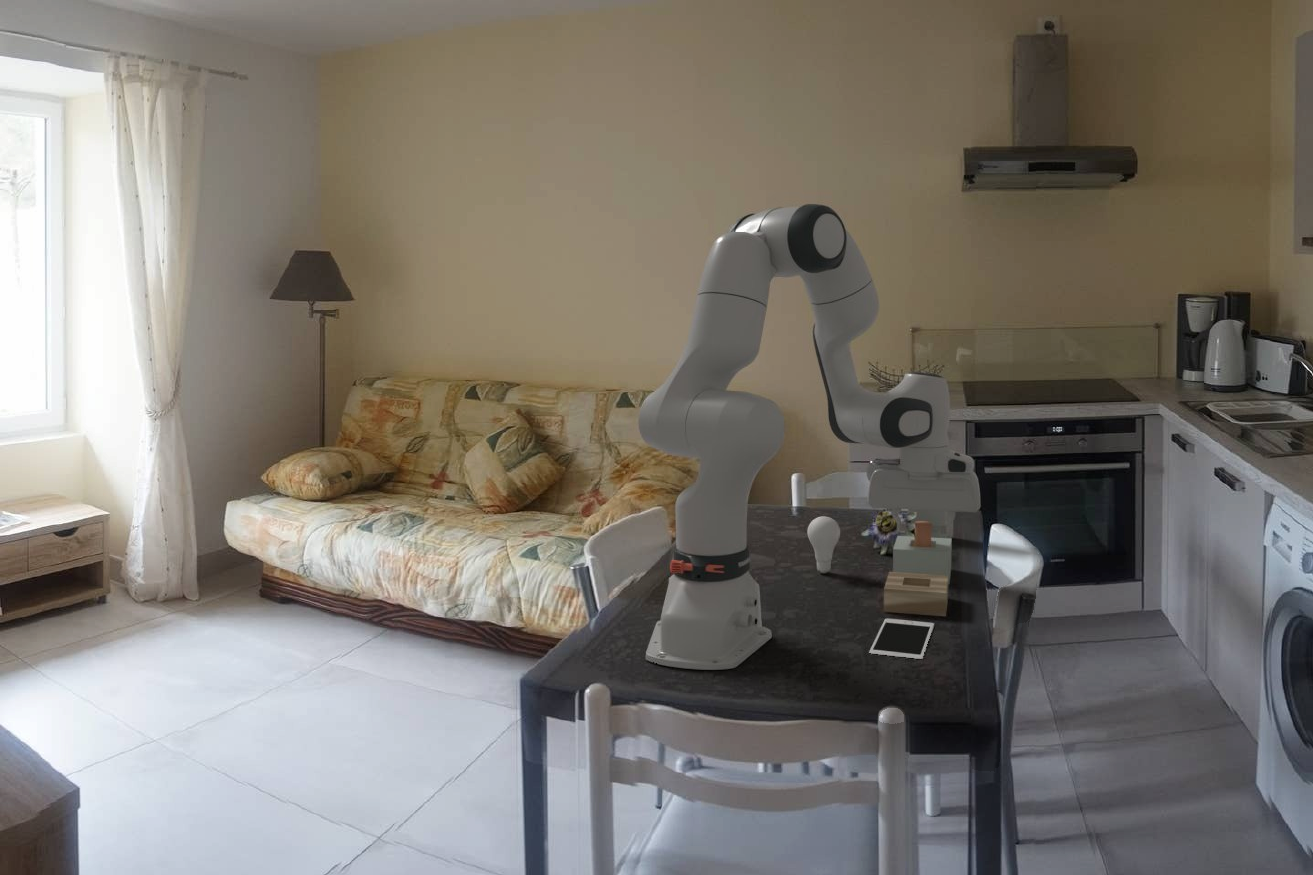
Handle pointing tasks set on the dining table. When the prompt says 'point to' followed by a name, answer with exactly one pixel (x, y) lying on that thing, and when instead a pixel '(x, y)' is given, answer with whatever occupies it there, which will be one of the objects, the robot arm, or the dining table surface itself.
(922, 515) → the skincare box
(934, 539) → the socket
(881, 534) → the passion flower
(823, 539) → the lightbulb
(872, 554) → the dining table surface
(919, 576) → the mount
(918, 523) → the pin
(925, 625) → the cell phone
